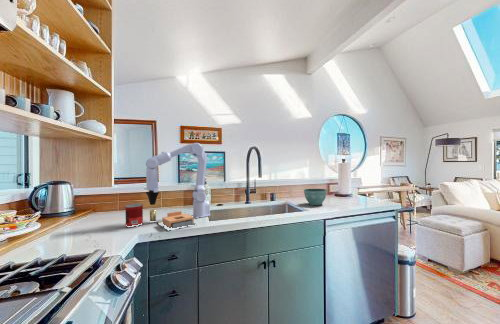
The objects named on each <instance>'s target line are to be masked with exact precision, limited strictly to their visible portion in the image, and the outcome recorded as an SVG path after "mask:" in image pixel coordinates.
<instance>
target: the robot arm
mask: <svg viewBox="0 0 500 324" xmlns="http://www.w3.org/2000/svg"><path fill="white" fill-rule="evenodd" d="M184 153H187V154H191V155H193V156H194V157H195V158H196V159H197V168H196V170H197V171H196V180H195V186H194V190H193V192H192V193H191V194H192V198H193V201H192V211H193V212H192V214H191V215H190V216H193V217H195V218H194V219H199V217H201V218H205V217H210V216H211V207H210V206H211V205H210V202H209V201H208V200H206V198H207V194H206V188H205V182H206V171H207V162H208V157H207V154H206V151H205V150H204V146H203V145H201V143H199V142H194V143H190V144H186V145H184V146H181V147H179V148H177V149H174V150H172V151H170V152H168V151H161V153H159V154H158V155H153V156H152V157H150V158H148V159H147V160H146V161H145V166H146V171H145V172H146V177H145V180H146V187H145V188H144V189H143V190H146V191H145V194H146V195H147V198H148V202H149V205H150V206H152V205H156V203H157V198H158V196H159V193H160V192H159V175H158V174H159V172H158V166H162V165H163V164H166V163H169V162H171V161H172V158H173V157H176V156H179V155H181V154H184Z"/></svg>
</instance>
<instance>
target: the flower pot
mask: <svg viewBox="0 0 500 324" xmlns="http://www.w3.org/2000/svg"><path fill="white" fill-rule="evenodd" d="M303 192H304V194H303V195H304V197H305V199H306V201H307V203H308V205H310V206H322V205H323V203H324V201H325V199H326V198H327V189H325V188H305V189H303Z"/></svg>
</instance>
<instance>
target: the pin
mask: <svg viewBox="0 0 500 324" xmlns="http://www.w3.org/2000/svg"><path fill="white" fill-rule="evenodd" d="M150 221H156V222H157V209H155V208H153V209H150V210H149V222H150Z"/></svg>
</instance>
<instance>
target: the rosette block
mask: <svg viewBox="0 0 500 324" xmlns="http://www.w3.org/2000/svg"><path fill="white" fill-rule="evenodd" d="M180 219H181V218H180ZM195 224H196V223H195V222H194V223H193V220H186V221H181V222H175V223H171V227H172V228H177V227H182V226H188V225H195Z"/></svg>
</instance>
